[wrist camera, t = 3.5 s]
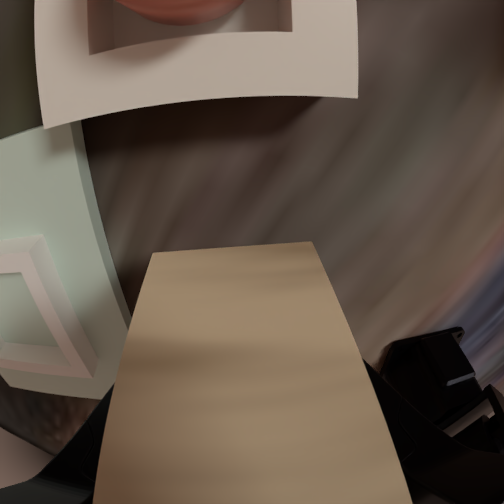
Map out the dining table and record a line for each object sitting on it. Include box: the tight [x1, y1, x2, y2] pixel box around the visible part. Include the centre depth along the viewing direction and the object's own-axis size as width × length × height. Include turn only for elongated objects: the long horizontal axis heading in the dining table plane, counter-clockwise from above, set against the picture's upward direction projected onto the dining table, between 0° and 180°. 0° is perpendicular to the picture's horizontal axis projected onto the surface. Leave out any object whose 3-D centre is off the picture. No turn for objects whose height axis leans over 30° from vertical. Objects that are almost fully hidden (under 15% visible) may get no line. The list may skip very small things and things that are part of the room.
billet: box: [93, 242, 412, 504], centre depth 8 cm, size 5×5×8 cm
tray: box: [0, 120, 132, 399], centre depth 14 cm, size 18×14×2 cm
